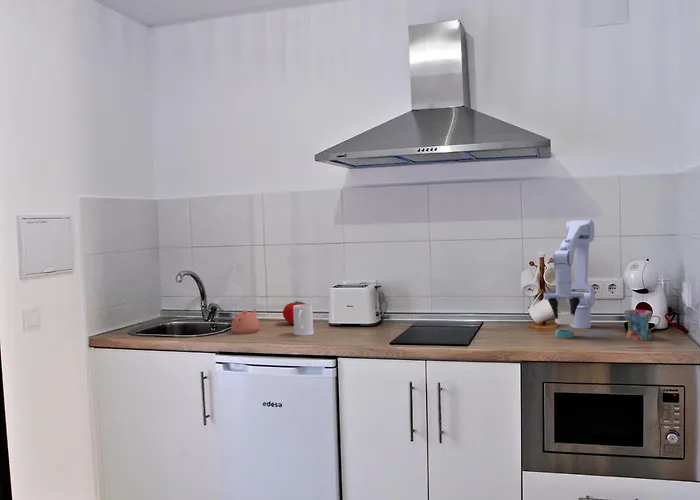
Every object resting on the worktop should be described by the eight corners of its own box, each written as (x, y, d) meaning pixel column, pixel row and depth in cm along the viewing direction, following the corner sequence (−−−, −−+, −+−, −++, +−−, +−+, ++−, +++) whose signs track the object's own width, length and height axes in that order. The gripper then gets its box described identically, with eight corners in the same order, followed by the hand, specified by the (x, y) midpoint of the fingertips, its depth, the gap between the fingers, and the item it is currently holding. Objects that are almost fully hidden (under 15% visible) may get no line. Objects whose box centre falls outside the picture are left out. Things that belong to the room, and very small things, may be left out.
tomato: (309, 325, 298) (308, 302, 297) (282, 326, 297) (281, 303, 297) (310, 321, 311) (309, 298, 310) (284, 322, 311) (283, 299, 310)
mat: (577, 334, 255) (577, 331, 255) (608, 333, 254) (608, 331, 254) (586, 340, 243) (586, 337, 243) (619, 339, 242) (619, 336, 242)
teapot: (223, 335, 282) (222, 313, 281) (244, 327, 299) (243, 307, 298) (248, 335, 278) (247, 313, 277) (268, 328, 294) (267, 307, 294)
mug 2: (624, 342, 237) (623, 313, 237) (624, 337, 246) (624, 309, 245) (660, 343, 232) (660, 314, 232) (660, 339, 241) (660, 310, 240)
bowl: (554, 337, 250) (553, 329, 250) (570, 337, 250) (570, 329, 250) (558, 340, 244) (558, 332, 244) (575, 340, 244) (575, 332, 244)
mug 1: (308, 337, 269) (306, 308, 269) (288, 337, 271) (287, 308, 271) (316, 332, 281) (315, 304, 280) (297, 331, 283) (296, 304, 282)
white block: (555, 322, 249) (555, 313, 249) (569, 321, 249) (569, 312, 249) (559, 324, 244) (559, 315, 244) (573, 324, 244) (573, 314, 244)
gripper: (546, 283, 242) (547, 320, 243) (586, 282, 242) (587, 319, 242) (541, 281, 250) (542, 317, 250) (580, 280, 249) (581, 316, 250)
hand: (564, 318), depth 247 cm, fingers closed on white block, 5 cm apart
